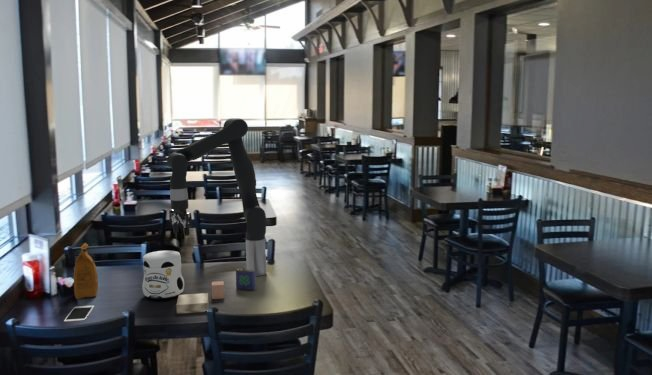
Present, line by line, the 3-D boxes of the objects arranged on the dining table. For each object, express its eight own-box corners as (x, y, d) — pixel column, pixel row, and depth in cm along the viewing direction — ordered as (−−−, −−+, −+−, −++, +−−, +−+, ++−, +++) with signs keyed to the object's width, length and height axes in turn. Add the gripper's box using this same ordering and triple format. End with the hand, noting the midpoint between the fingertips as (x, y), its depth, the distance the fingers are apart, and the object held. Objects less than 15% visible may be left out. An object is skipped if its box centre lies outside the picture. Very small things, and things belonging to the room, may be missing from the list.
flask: (256, 289, 257) (256, 265, 255) (254, 291, 254) (253, 267, 253) (237, 287, 260) (236, 264, 258) (234, 289, 257) (233, 266, 255)
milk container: (147, 305, 238) (144, 262, 236) (139, 293, 254) (137, 253, 251) (189, 298, 246) (187, 257, 244) (179, 286, 262) (177, 248, 259)
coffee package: (101, 289, 259) (97, 241, 256) (97, 298, 247) (94, 248, 244) (77, 291, 257) (73, 242, 253) (72, 300, 245) (68, 249, 241)
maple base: (208, 302, 243) (208, 292, 242) (207, 312, 231) (207, 302, 230) (179, 304, 241) (178, 294, 240) (176, 314, 229) (176, 305, 228)
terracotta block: (224, 294, 251) (223, 281, 250) (224, 298, 246) (223, 284, 245) (212, 295, 250) (211, 281, 249) (212, 299, 245) (211, 285, 244)
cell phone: (94, 306, 238) (94, 305, 238) (85, 321, 223) (84, 319, 223) (74, 307, 237) (74, 306, 237) (63, 322, 222) (63, 321, 222)
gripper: (195, 198, 254) (197, 235, 257) (177, 195, 264) (179, 230, 266) (180, 201, 249) (183, 238, 251) (162, 197, 258) (165, 233, 261)
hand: (181, 234), depth 259 cm, fingers open, 8 cm apart
